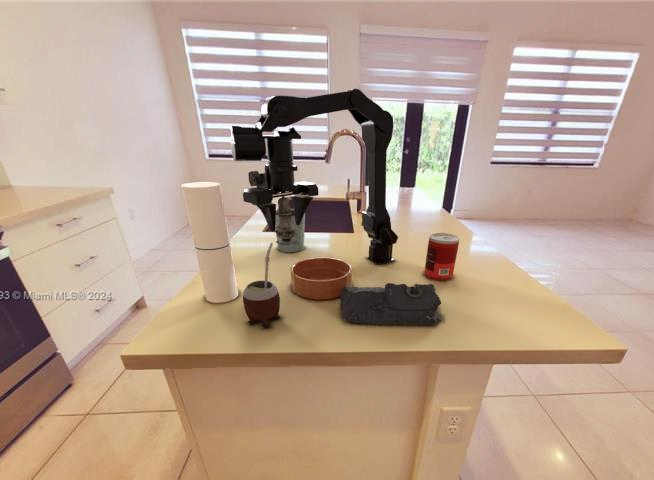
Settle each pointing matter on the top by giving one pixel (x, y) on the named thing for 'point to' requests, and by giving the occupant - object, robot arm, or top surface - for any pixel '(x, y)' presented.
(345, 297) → the dark slate chunk
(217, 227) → the cylindrical container
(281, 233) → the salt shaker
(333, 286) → the bowl
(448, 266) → the canned food
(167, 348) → the top surface
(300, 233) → the green cup
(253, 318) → the mate gourd
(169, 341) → the top surface
